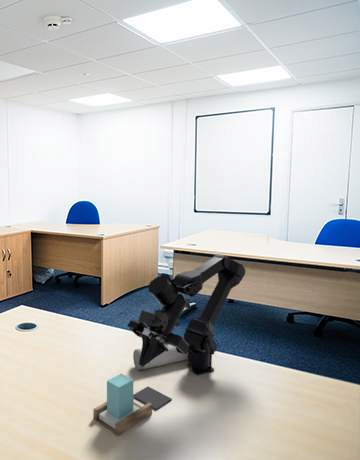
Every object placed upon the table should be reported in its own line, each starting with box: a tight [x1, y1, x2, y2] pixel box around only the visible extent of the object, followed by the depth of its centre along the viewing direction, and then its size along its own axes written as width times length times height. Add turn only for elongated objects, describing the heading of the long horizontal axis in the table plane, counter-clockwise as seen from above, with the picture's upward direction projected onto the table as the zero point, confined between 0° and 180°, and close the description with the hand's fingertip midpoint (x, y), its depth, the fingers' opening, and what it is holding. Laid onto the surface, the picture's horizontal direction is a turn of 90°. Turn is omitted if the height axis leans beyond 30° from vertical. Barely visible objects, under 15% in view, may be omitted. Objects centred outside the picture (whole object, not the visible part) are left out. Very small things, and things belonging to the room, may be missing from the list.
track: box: [92, 401, 153, 437], centre depth 86 cm, size 11×9×2 cm
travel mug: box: [132, 345, 190, 371], centre depth 114 cm, size 6×7×20 cm
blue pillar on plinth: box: [99, 373, 140, 429], centre depth 85 cm, size 8×6×9 cm
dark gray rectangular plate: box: [133, 386, 172, 411], centre depth 94 cm, size 6×9×1 cm, turn 50°
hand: (140, 365), depth 90 cm, fingers closed
